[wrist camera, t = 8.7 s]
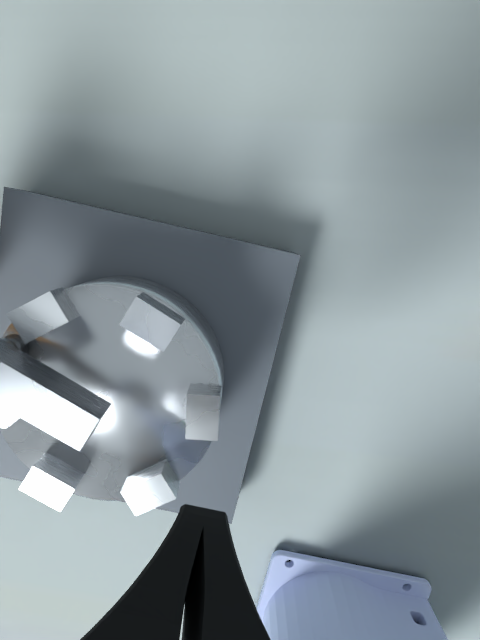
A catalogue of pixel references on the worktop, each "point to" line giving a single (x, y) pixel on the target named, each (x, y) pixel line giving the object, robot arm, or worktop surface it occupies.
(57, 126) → the worktop surface
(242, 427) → the base plate
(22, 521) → the worktop surface
